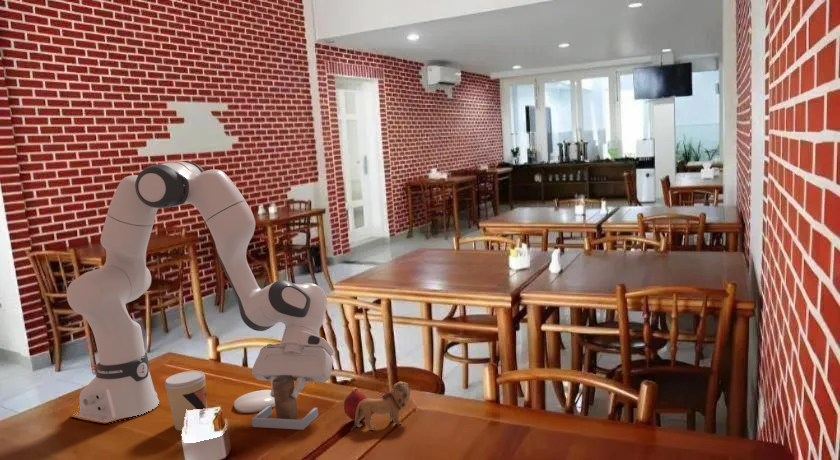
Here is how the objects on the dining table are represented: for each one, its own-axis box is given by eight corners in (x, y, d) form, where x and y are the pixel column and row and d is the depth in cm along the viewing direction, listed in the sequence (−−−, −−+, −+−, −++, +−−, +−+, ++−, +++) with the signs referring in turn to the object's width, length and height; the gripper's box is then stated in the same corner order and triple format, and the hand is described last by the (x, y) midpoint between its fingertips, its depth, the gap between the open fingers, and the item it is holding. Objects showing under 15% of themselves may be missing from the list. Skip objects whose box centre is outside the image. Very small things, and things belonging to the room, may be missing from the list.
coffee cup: (194, 433, 149) (187, 384, 148) (162, 431, 152) (155, 383, 151) (219, 416, 158) (212, 370, 157) (188, 414, 161) (181, 369, 160)
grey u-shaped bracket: (252, 426, 150) (251, 418, 150) (269, 413, 157) (268, 405, 157) (303, 429, 146) (302, 421, 146) (318, 415, 153) (317, 407, 153)
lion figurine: (408, 413, 149) (404, 376, 148) (416, 421, 145) (412, 383, 143) (348, 428, 144) (343, 390, 143) (354, 437, 139) (350, 398, 138)
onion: (366, 426, 144) (362, 393, 143) (342, 426, 145) (338, 393, 144) (373, 415, 150) (369, 383, 149) (350, 415, 151) (346, 383, 150)
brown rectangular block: (277, 422, 151) (271, 380, 150) (285, 415, 155) (279, 374, 153) (290, 423, 150) (285, 380, 149) (298, 416, 154) (292, 375, 152)
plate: (225, 411, 161) (224, 407, 161) (251, 393, 172) (250, 389, 172) (266, 413, 157) (265, 409, 157) (290, 394, 168) (289, 390, 168)
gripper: (256, 338, 160) (239, 390, 152) (329, 338, 154) (315, 393, 146) (268, 349, 165) (252, 400, 157) (339, 350, 158) (326, 403, 150)
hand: (283, 397), depth 151 cm, fingers closed on brown rectangular block, 4 cm apart
